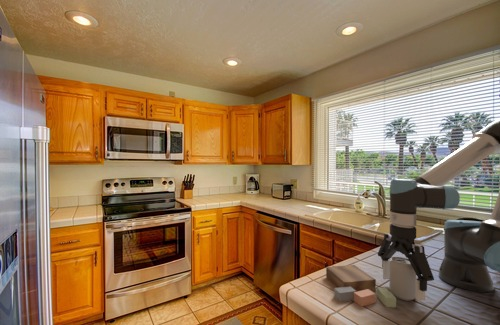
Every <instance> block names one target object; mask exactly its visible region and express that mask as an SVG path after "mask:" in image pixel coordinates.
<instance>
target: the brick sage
mask: <svg viewBox="0 0 500 325" xmlns="http://www.w3.org/2000/svg"><path fill="white" fill-rule="evenodd" d="M376 298H378V299H379V300H380V301H381V303H382V304H383V305H384V307H386V308H397V297H395V296H394V295H393V294H392V293H391V292H390V289H388V288H387V287H376Z"/></svg>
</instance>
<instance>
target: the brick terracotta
mask: <svg viewBox="0 0 500 325" xmlns="http://www.w3.org/2000/svg"><path fill="white" fill-rule="evenodd" d="M376 298H377V293H376V292H375V291H370V290H369V289H366V290H362V291H358V292H354V300H353V302H354V303H356V304H357V305H359V306H360V307H364V306H368V305H372V304H376V303H377V299H376Z"/></svg>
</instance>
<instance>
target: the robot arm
mask: <svg viewBox="0 0 500 325" xmlns="http://www.w3.org/2000/svg"><path fill="white" fill-rule="evenodd" d="M499 153H500V117H499V118H497V119H495V121H492V122H490V123H489V124H488V125H487V126H485V127H483V128H481V129H480V130H479V131H477V132H476V133H474V134H473V135H472V138H471V140H469V141H468V142H466V143H465V144H463V145H462V146H461V147H459V148H458V149H457V150H455V151H454V152H452V153H450V154H449V155H448V156H446V157H445V158H444V159H442V160H440V161H439V162H437V163H436V164H434V165H433V166H432V167H430V168H428V169H427V170H426V171H424V172H423V173H421V174H420V175H419V176H417V177H415V178H414V179H409V178H394V179H391V181H390V183H389V184H390V185H389V222H390V224H389V233H384V234H383V241H382V243H381V244H380V248H379V249H378V252H377V256H378V257H380V259H381V265H382V266H381V267H382V279H384V280H390V261H391V259H392V258H393V257H394V255H395V254H396V253H397V252H398V253H400V254H402V255H404V257H405V258H407V259H408V260H409V262H410V263H411V265H412V267H413V269H414V271H415V273H416V298H415V299H414V300H415V301H417V302H420V301H421V302H422V301H426V292H427V291H428V282H431V281H435V278H434V274H433V272H432V269H431V266H430V264H429V262H428V259H427V257H426V252H425V246H424V245H423V244H422V245H420V244H419V245H418V244H416V242H415V240H416V239H417V227H416V226H417V210H418V209H437V210H438V209H440V210H453V209H455V208H458V206H459V205H460V200H461V199H460V198H461V197H460V194H459V191H458V190H457V189H456V188H455V187H453V186H450V185H447V184H448V183H449V182H451V181H452V180H454V179H456V178H457V177H458V176H461V175H462V174H463V173H465V172H467V171H468V170H469V169H471V168H472V167H474V166H475V165H477V164H478V163H479V162H481V161H483V160H484V159H486V158H487V157H489V156H490V155H496V154H499ZM443 231H444V233H443V234H444V237H443V238H444V239H443V240H444V241H443V242H444V248H443V249H444V254H443V255H444V256H443V259H442V261H441V264H440V266H439V269H438V277H439V279H441V280H442V281H444V282H445V283H447V284H449V285H452V286H454V287H456V288H460V289H464V290H468V291H471V292H476V293H477V292H478V293H490V292H493V291H494V280H492V277H491V274H490V271H489V269H491V270H492V271H495V272H498V273H500V191H499V193H498V195H497V198H496V201H495V203H494V207H493V208H492V212H491V214H490V217H489V219H486V220H482V221H478V220H477V221H476V220H466V219H465V220H464V219H447V220H446V221H445V222H444V226H443ZM488 268H489V269H488Z"/></svg>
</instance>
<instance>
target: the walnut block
mask: <svg viewBox="0 0 500 325" xmlns="http://www.w3.org/2000/svg"><path fill="white" fill-rule="evenodd" d="M325 270H326V273H325V275H326V276H325V277H326V279H328V281H330V283H332V284H333V286H335V288H340V287H348V286H351V287H352V288H353V289H354V290H356V292H358V291H362V290H366V289H369V290H370V291H372V292H377V286H376V285H377V284H376V282H377V280H376V279H375V277H373V276H372V275H370V274H368V273H367V272H366V271H364V270H362V269H361V268H360V267H358V266H356V265H355V264H349V265H348V264H347V265H335V266H334V265H333V266H326V267H325Z"/></svg>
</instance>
